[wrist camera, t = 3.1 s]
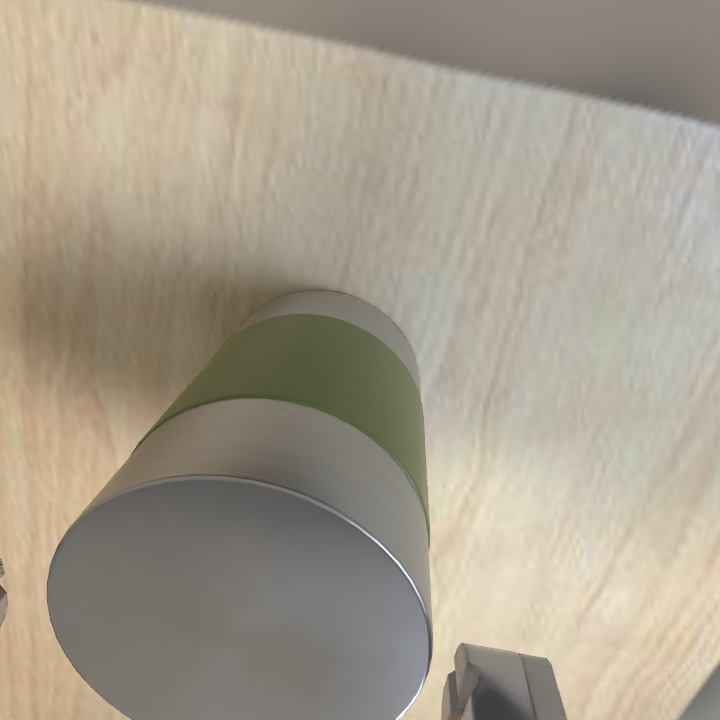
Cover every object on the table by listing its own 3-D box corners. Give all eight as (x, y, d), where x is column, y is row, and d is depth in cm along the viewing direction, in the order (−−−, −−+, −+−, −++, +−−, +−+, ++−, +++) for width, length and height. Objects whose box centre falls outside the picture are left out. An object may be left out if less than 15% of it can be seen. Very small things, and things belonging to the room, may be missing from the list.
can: (382, 258, 16) (350, 421, 7) (446, 438, 19) (484, 736, 9) (192, 325, 18) (-38, 532, 9) (273, 485, 20) (160, 783, 11)
